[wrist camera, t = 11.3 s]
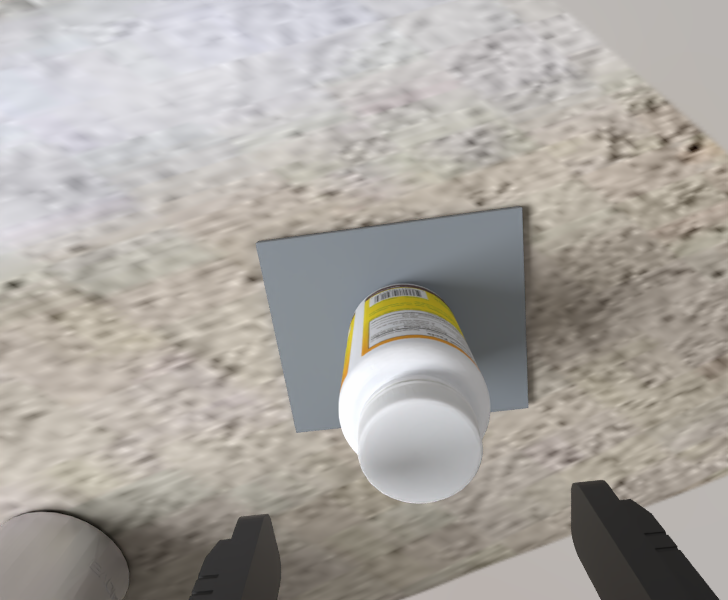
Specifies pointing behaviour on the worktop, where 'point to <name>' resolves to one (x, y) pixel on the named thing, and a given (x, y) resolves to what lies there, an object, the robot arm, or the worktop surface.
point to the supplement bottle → (412, 396)
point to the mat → (387, 267)
